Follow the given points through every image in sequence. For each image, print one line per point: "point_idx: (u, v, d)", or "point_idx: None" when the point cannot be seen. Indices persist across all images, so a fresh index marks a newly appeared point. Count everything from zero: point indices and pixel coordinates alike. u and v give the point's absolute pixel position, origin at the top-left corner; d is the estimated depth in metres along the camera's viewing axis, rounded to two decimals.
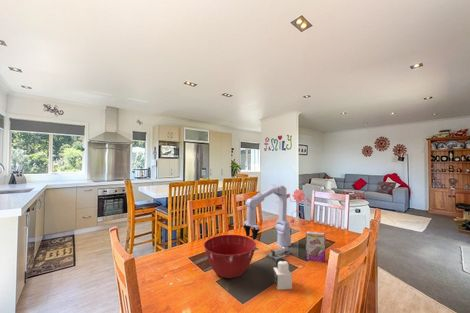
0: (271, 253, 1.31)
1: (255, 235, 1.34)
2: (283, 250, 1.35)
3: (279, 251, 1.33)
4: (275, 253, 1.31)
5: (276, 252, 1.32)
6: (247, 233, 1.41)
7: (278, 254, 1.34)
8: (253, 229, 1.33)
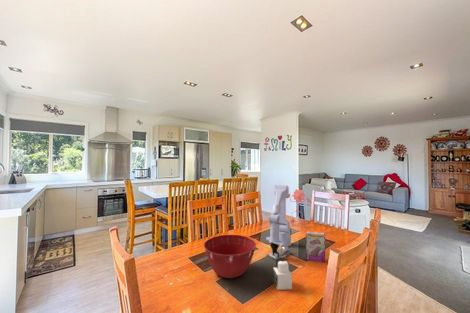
0: (276, 255, 1.28)
1: (275, 250, 1.31)
2: (284, 250, 1.34)
3: (282, 252, 1.32)
4: (279, 254, 1.29)
5: (280, 253, 1.30)
6: None
7: None
8: (273, 244, 1.29)
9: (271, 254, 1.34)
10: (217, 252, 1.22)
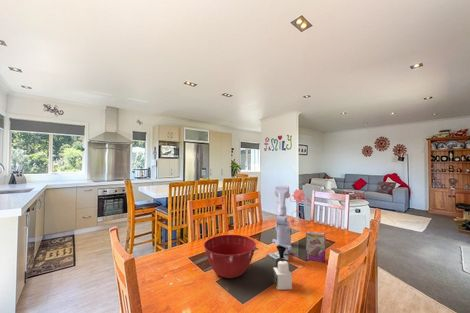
0: (287, 257, 1.25)
1: (282, 253, 1.27)
2: (287, 250, 1.34)
3: (287, 252, 1.31)
4: None
5: (287, 254, 1.28)
6: (281, 255, 1.27)
7: (278, 254, 1.34)
8: (280, 247, 1.25)
9: (271, 254, 1.34)
10: (217, 252, 1.22)
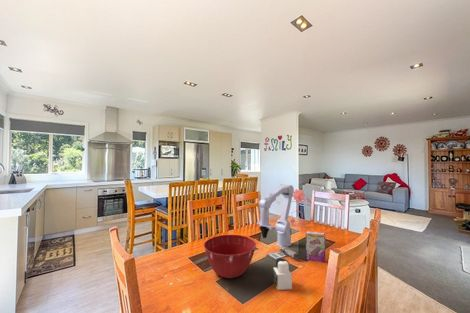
0: (298, 256, 1.26)
1: (265, 234, 1.39)
2: None
3: None
4: None
5: None
6: None
7: (278, 254, 1.34)
8: (264, 228, 1.38)
9: (271, 254, 1.34)
10: (217, 252, 1.22)
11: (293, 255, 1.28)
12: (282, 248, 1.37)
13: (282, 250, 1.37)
